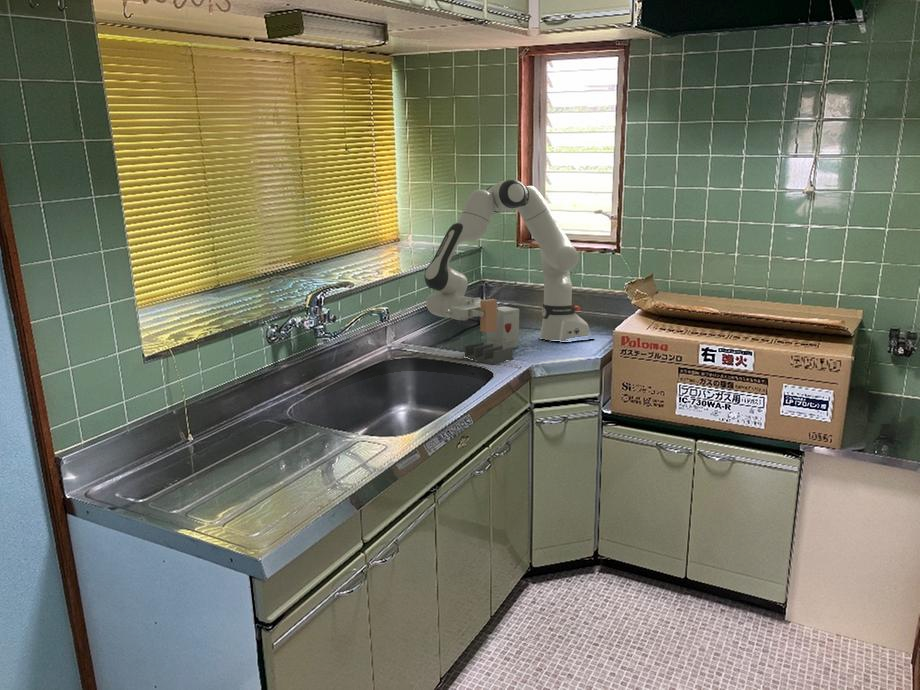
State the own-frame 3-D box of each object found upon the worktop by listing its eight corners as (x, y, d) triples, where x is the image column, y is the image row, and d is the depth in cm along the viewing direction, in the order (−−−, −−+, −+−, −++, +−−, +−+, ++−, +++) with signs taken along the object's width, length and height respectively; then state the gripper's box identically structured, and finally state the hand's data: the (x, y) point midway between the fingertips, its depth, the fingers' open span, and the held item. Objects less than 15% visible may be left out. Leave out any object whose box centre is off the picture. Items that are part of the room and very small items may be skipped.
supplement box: (502, 350, 278) (503, 311, 275) (486, 346, 285) (486, 308, 281) (519, 347, 284) (520, 308, 281) (503, 343, 290) (503, 305, 287)
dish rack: (483, 353, 273) (483, 341, 272) (513, 359, 263) (513, 347, 262) (463, 358, 265) (463, 346, 264) (493, 364, 255) (493, 352, 254)
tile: (491, 329, 265) (491, 298, 263) (496, 330, 263) (497, 299, 261) (480, 331, 261) (480, 300, 258) (485, 332, 259) (485, 301, 257)
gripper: (441, 302, 261) (470, 307, 252) (480, 296, 276) (509, 300, 266) (442, 320, 263) (470, 325, 253) (480, 313, 277) (508, 317, 268)
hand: (490, 312), depth 260 cm, fingers closed on tile, 6 cm apart
